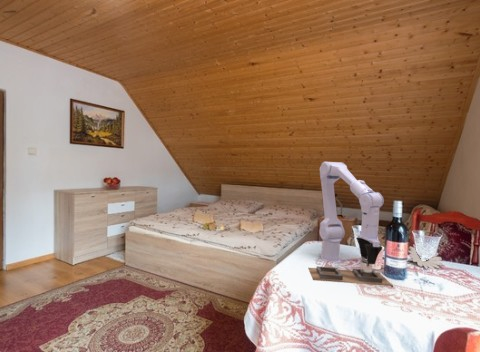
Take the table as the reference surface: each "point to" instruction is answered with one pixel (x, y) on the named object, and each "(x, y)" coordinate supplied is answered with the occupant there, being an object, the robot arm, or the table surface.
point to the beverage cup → (378, 260)
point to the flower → (429, 262)
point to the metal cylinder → (365, 267)
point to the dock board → (347, 276)
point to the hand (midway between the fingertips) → (367, 260)
